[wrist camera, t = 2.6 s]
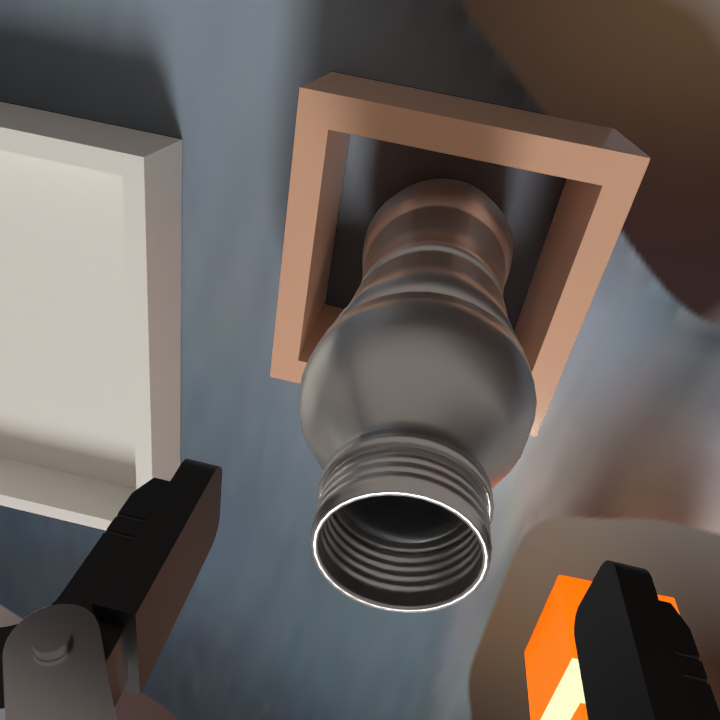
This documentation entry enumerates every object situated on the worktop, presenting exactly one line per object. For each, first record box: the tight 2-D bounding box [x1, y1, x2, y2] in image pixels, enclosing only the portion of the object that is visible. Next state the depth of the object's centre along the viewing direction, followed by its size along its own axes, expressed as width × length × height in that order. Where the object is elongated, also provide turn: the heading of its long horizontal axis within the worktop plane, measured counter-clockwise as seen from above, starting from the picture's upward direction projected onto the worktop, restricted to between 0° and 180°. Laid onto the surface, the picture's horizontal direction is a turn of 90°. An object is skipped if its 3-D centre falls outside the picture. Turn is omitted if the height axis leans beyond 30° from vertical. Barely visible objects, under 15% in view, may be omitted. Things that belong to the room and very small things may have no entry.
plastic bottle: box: [299, 178, 537, 613], centre depth 21 cm, size 6×7×20 cm
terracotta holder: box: [270, 72, 650, 437], centre depth 27 cm, size 12×12×6 cm
